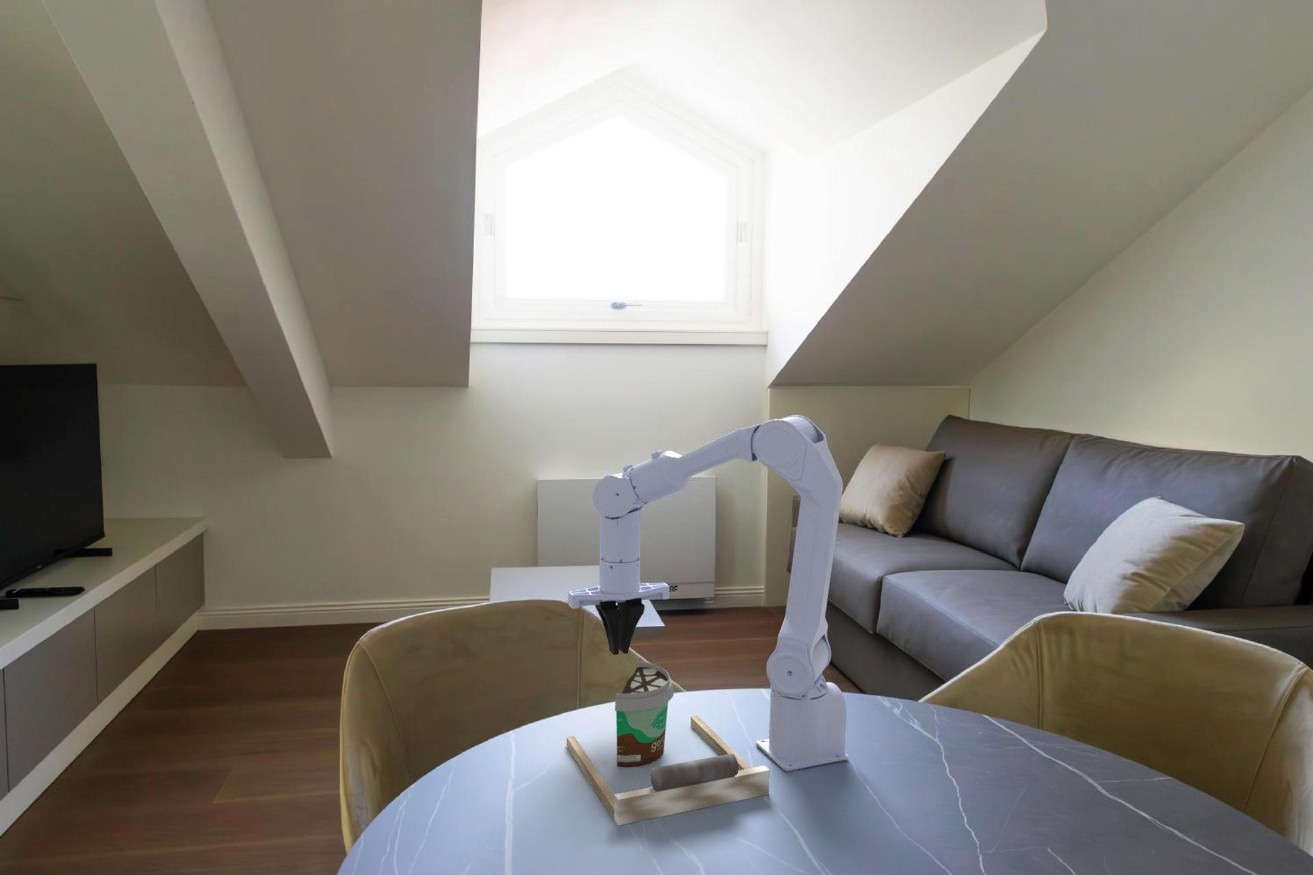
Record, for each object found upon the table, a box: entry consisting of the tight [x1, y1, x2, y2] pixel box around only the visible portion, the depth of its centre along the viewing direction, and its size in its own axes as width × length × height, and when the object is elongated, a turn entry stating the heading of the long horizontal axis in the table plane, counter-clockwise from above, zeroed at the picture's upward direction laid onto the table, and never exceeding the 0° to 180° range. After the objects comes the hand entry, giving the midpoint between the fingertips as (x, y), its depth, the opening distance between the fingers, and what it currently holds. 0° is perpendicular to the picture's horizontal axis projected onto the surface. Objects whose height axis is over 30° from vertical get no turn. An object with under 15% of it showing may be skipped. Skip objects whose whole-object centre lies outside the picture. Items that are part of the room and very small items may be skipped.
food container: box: [614, 660, 675, 769], centre depth 110 cm, size 12×6×10 cm, turn 168°
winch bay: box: [566, 715, 771, 826], centre depth 105 cm, size 19×21×5 cm
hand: (618, 651), depth 120 cm, fingers closed
